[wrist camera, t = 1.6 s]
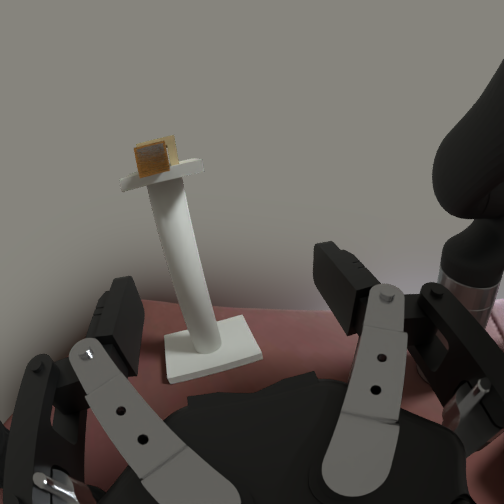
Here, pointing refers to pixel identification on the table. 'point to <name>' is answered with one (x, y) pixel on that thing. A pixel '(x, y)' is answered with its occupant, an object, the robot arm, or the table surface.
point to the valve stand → (190, 280)
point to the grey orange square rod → (152, 159)
